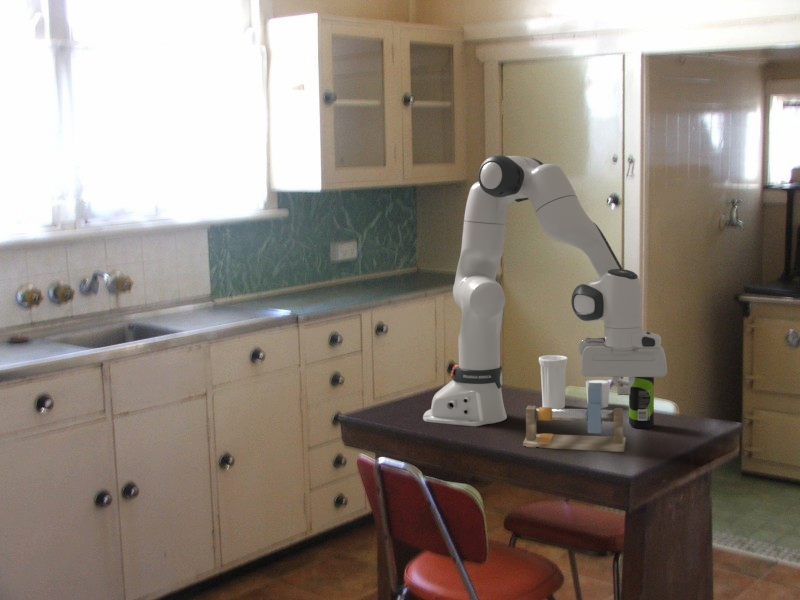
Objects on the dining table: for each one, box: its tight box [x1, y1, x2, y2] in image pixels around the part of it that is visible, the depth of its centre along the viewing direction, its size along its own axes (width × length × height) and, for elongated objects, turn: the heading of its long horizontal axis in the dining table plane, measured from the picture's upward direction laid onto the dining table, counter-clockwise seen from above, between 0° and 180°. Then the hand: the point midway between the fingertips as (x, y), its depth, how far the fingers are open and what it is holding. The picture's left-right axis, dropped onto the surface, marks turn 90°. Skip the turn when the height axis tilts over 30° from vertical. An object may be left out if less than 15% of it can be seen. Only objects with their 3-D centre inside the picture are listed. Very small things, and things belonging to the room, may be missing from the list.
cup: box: [538, 354, 569, 409], centre depth 297 cm, size 8×8×14 cm
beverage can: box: [628, 377, 655, 430], centre depth 275 cm, size 6×6×15 cm
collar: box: [587, 383, 603, 434], centre depth 257 cm, size 3×7×11 cm, turn 166°
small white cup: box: [585, 379, 611, 409], centre depth 299 cm, size 7×7×7 cm
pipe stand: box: [522, 405, 626, 453], centre depth 259 cm, size 24×9×9 cm, turn 76°
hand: (624, 394), depth 255 cm, fingers closed
